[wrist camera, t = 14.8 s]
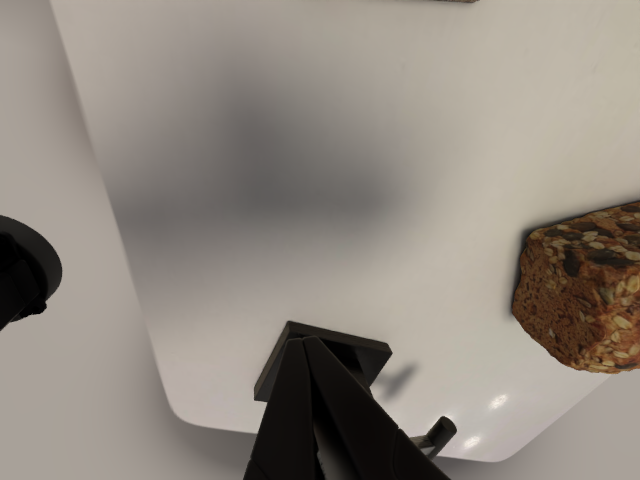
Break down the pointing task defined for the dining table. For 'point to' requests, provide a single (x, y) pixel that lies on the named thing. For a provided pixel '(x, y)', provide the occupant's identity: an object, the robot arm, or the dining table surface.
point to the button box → (462, 0)
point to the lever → (427, 439)
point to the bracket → (349, 350)
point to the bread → (584, 290)
